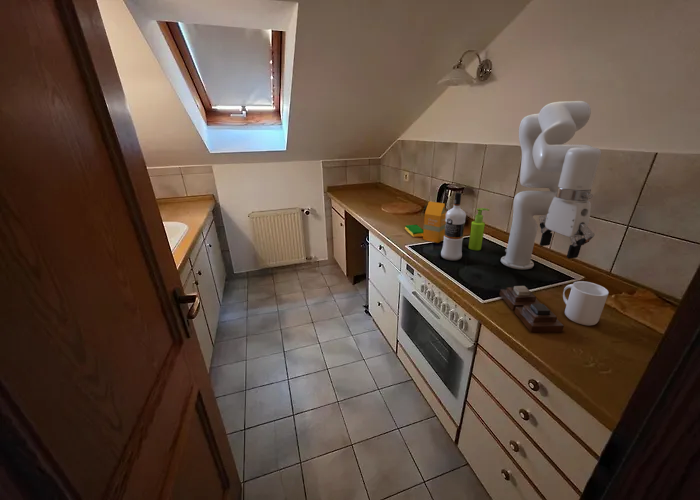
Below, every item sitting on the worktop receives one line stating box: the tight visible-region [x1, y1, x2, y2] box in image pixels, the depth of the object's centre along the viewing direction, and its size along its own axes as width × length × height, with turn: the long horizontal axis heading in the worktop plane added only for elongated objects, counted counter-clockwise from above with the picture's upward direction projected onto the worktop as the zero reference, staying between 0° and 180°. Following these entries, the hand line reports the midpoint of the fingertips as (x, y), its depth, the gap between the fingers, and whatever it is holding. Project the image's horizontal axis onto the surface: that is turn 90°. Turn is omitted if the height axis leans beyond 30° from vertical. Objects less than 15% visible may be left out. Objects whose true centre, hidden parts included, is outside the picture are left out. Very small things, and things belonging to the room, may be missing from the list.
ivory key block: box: [498, 286, 542, 312], centre depth 101 cm, size 10×9×4 cm
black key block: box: [514, 305, 565, 333], centre depth 91 cm, size 10×9×4 cm
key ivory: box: [513, 285, 531, 295], centre depth 100 cm, size 4×4×2 cm
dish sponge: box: [404, 224, 424, 238], centre depth 169 cm, size 7×14×2 cm, turn 9°
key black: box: [530, 303, 551, 315], centre depth 90 cm, size 4×4×2 cm
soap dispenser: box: [467, 207, 490, 251], centre depth 142 cm, size 6×7×20 cm
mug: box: [562, 280, 610, 326], centre depth 93 cm, size 9×12×11 cm
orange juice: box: [422, 201, 447, 244], centre depth 155 cm, size 8×9×20 cm
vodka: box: [440, 191, 467, 262], centre depth 132 cm, size 9×9×30 cm
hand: (557, 251), depth 89 cm, fingers open, 9 cm apart
